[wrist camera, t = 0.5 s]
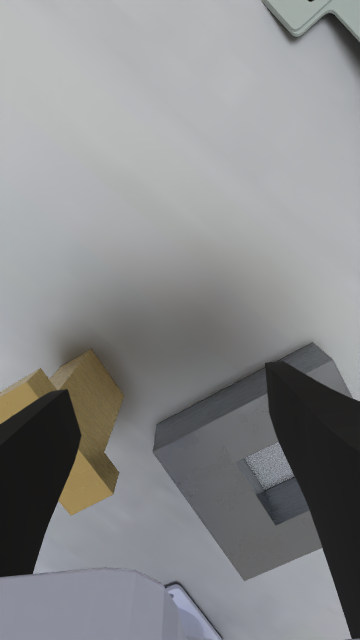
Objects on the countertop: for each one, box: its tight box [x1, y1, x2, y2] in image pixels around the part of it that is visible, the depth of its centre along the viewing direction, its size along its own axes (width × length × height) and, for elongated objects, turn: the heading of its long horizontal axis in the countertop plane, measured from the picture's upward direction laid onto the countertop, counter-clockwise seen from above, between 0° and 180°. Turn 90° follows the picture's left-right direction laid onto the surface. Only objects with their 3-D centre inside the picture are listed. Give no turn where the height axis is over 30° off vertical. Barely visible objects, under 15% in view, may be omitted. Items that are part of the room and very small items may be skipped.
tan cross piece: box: [0, 349, 124, 515], centre depth 19 cm, size 2×7×8 cm, turn 31°
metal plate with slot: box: [153, 343, 353, 581], centre depth 22 cm, size 12×12×3 cm
